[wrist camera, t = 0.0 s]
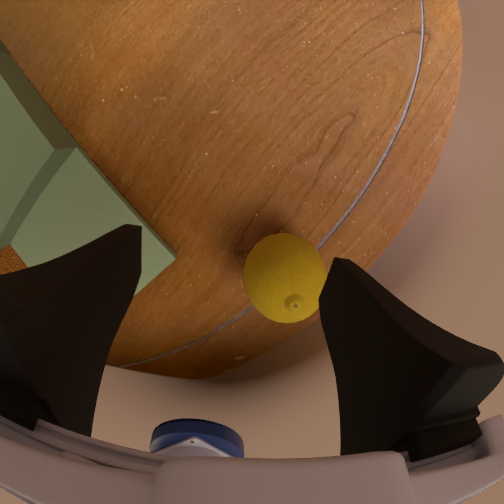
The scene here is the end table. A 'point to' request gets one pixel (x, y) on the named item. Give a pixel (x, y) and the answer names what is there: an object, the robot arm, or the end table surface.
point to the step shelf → (56, 184)
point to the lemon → (284, 277)
